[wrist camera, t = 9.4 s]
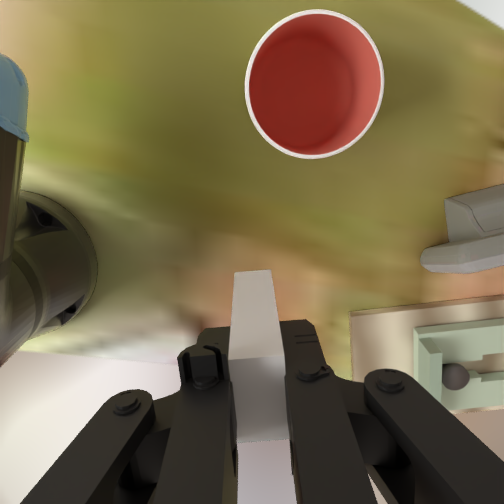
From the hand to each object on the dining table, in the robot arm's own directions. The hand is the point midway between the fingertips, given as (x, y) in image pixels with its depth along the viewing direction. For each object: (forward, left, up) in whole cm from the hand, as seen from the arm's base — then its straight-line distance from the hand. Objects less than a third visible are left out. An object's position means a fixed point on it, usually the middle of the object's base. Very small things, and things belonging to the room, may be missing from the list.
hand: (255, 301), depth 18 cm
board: (+23, -21, -26) cm, 41 cm away
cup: (+6, +9, -26) cm, 28 cm away
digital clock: (+24, -6, -26) cm, 36 cm away
